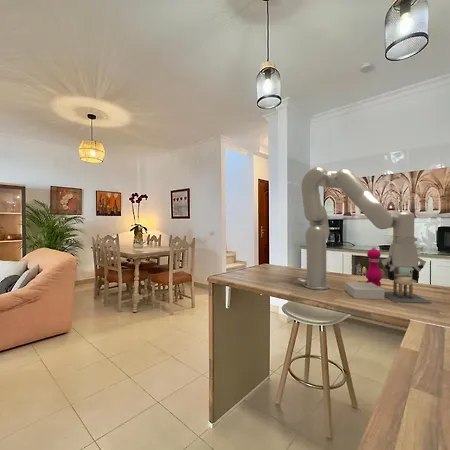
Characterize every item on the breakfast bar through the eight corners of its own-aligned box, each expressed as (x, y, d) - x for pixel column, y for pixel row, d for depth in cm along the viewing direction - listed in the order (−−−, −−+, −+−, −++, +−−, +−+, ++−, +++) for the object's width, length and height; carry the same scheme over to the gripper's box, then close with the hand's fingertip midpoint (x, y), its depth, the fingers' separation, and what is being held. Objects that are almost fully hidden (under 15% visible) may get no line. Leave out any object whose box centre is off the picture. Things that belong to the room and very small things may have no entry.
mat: (394, 302, 105) (394, 301, 105) (378, 292, 119) (378, 291, 119) (431, 303, 103) (431, 302, 103) (410, 293, 117) (410, 292, 117)
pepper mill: (384, 286, 128) (384, 247, 127) (368, 286, 129) (368, 247, 129) (378, 283, 135) (378, 245, 134) (363, 282, 136) (363, 245, 136)
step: (354, 298, 110) (354, 289, 110) (345, 290, 122) (345, 282, 122) (384, 299, 109) (384, 289, 109) (371, 291, 121) (371, 282, 121)
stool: (390, 294, 114) (390, 274, 114) (406, 294, 114) (406, 274, 113) (398, 298, 108) (398, 277, 108) (415, 299, 107) (415, 278, 107)
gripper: (419, 239, 113) (419, 278, 113) (378, 240, 115) (377, 277, 115) (431, 241, 105) (430, 282, 106) (386, 241, 107) (386, 281, 108)
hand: (403, 279), depth 111 cm, fingers open, 9 cm apart
